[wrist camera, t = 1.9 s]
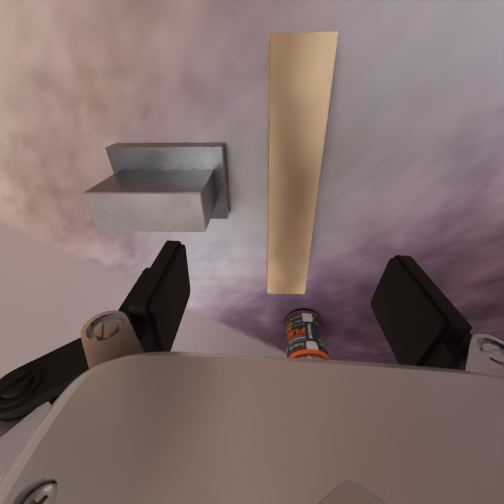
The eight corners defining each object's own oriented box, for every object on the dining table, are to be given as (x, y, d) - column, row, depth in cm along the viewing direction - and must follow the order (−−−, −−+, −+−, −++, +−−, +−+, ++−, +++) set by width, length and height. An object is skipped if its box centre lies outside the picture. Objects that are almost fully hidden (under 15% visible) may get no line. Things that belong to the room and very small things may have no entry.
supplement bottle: (298, 302, 40) (308, 370, 30) (327, 316, 41) (345, 384, 32) (277, 323, 43) (281, 390, 33) (305, 335, 44) (316, 403, 35)
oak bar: (320, 43, 22) (338, 31, 16) (298, 261, 35) (304, 293, 30) (269, 45, 22) (270, 33, 17) (267, 261, 36) (267, 293, 30)
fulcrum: (224, 142, 27) (208, 166, 19) (229, 211, 31) (218, 252, 24) (115, 143, 27) (58, 167, 20) (135, 210, 32) (96, 250, 24)
